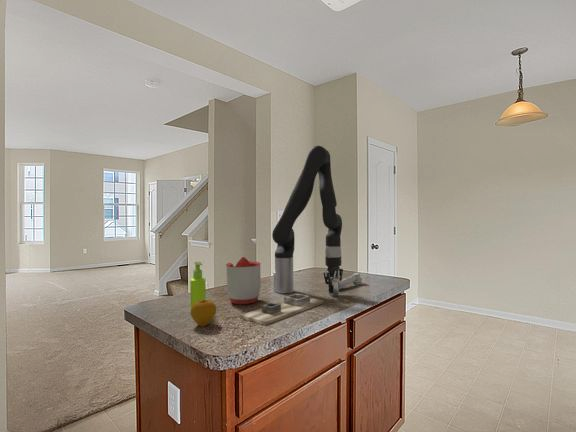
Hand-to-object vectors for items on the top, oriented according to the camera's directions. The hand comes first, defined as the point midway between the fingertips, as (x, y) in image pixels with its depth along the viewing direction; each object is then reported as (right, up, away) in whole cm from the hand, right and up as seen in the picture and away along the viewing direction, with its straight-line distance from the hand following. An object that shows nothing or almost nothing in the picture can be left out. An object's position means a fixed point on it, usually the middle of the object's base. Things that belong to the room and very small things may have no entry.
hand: (333, 291), depth 154 cm
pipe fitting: (0, -2, 0) cm, 2 cm away
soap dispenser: (-58, -3, -23) cm, 62 cm away
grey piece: (+10, -2, +18) cm, 20 cm away
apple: (-51, -3, -39) cm, 65 cm away
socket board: (-23, -2, -23) cm, 32 cm away
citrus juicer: (-42, -3, -8) cm, 43 cm away
